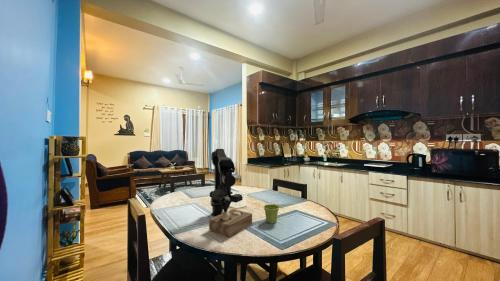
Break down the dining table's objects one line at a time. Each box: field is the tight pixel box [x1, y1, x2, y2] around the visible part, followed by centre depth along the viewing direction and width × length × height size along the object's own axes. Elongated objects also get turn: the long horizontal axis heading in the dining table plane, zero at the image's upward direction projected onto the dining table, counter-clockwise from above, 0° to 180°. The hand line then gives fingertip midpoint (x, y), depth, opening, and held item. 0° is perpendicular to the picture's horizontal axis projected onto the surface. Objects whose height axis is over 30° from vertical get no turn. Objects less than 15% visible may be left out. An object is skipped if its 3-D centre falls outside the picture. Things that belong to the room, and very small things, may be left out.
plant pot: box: [263, 203, 280, 224], centre depth 120 cm, size 9×9×9 cm
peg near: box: [222, 210, 230, 222], centre depth 108 cm, size 4×4×5 cm
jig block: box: [208, 208, 253, 238], centre depth 112 cm, size 14×20×6 cm
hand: (225, 212), depth 108 cm, fingers closed, pressing on peg near
